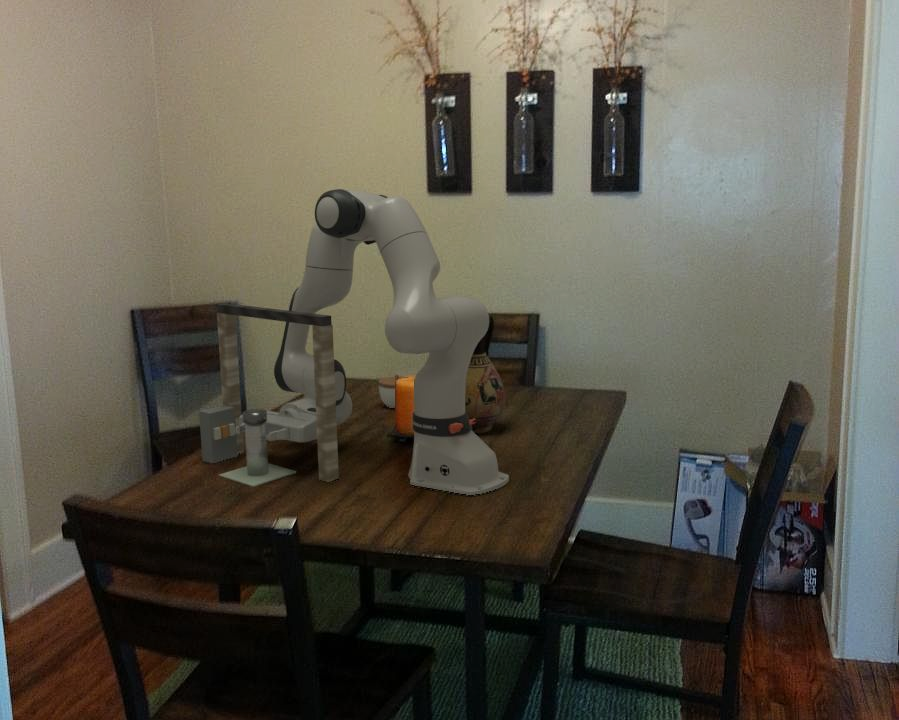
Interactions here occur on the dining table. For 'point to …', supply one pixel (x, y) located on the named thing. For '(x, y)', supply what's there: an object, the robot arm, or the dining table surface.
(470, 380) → the ceramic jug
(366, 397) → the dining table surface
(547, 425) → the dining table surface
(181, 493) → the dining table surface
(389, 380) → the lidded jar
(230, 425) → the breaker box
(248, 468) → the frosted spice bottle
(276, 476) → the sage mat
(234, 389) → the arch
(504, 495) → the dining table surface
